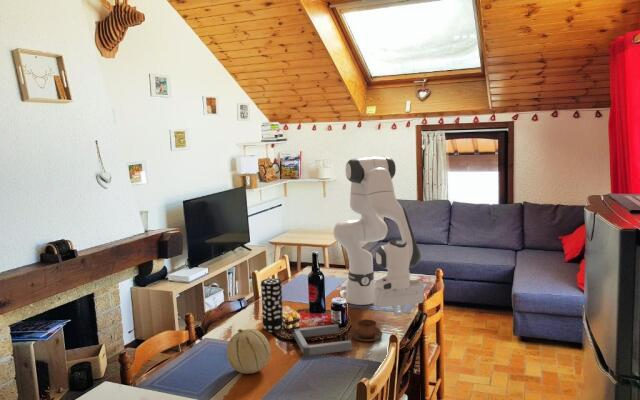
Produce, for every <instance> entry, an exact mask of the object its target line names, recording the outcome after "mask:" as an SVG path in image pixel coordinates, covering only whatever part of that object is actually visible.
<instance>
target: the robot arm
mask: <svg viewBox="0 0 640 400" xmlns="http://www.w3.org/2000/svg"><path fill="white" fill-rule="evenodd" d="M396 169H397V168H396V162H395V161H394V160H393V158H391V157H389V156H369V157H360V158H356V157H355V158H352V159H349V160H348V161H347V162H346V165H345V176H346V179H347V180H348V181H349V182H350V195H349V200H350V201H349V206H350V208H351V210H352V211H353V212H354V213H356V214H359V215H360V217H361V218H360V219H347V220H342V221H339V222H337V223H336V224H335V225H334V228H333V237H334V239H335V241H336V242H338V243H339V244H340V245H341V246H343V248H344V249H345V251H346V253H347V256H348V264H349V268H348V269H349V270H348V273H347V279H346V280H345V281H344V283H343V285H341V290H340V291H339V296H340V298H341V297H343V298H346V300H347V303H346V304H351V305H358V306H362V305H365V306H366V305H371V304H373V305H374V306H375V307H376V308H378V309H379V308H386V307H387V308H388V307H391V308H392V309H393V311H394V316H395V317H403V316H404V311H405V309H406V307H407V306H406V305H414V304H423V302H424V300H425V299H424V297H425V296H424V290H423V288H424V282H423V281H422V280H420V279H411V272H410V269H411V268H415V267H416V266H417V265H418V264H419V263H420V260H421V257H422V256H421V251H420V248H419V246H418V244H417V241H416V239H415V236H414V233H413V229H412V226H411V223H410V220H409V216H408V214H407V211H406V208H405V207H404V205H402V204H400V203H399V201H398V200H397V198H396V195H395V187H394V183H393V178H394V177H395V175H396ZM381 217H384V218H387V219H390V220H392V221H393V222H395V224H396V225H397V227H398V230H399V234H400V236H401V239H398V238H397V239H395V238H394V239H391V240H388V242H387V243H386V244H384V245H380V246H378V247H377V249H376V251H375V252H374V257H373V255H372V253H371V252H370V251H368V250H367V249H365V248H362V246H361V245H362V244H363V243H375V242H378V241H382V240H384V239H385V238H386V237H387V234H388V232H389V229H388V225H387V222H386V221H385V220H383V219H382V218H381ZM373 258H375V259H373ZM374 260H375V264H376V265H377V266H378V267H379V268H381V269H384V270H385V269H386V270H387V272H386V275H385V276H384V277H382V278H379V279H377V280H374V279H375V271H374V264H373V263H374ZM398 306H400V309H399V310H397V308H398Z"/></svg>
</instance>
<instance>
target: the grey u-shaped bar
mask: <svg viewBox="0 0 640 400" xmlns="http://www.w3.org/2000/svg"><path fill="white" fill-rule="evenodd" d="M339 328H340V327H339V324H338V323H335V324H326V325H319V326H318V325H317V326H310V327H301V328H294V329H293V338H294V339H295V342H296V343H297V346H298V347H299V350H300V351H301V352H302V354H303V357H310V356H316V355H323V354H325V355H326V354H331V353H340V352H347V351H352V349H353V347H352V341H351V340H350V339H349V340H343V341H333V342H326V343H318V344H316V343H315V344H308V343H307V341H306V339H305V338H308V337H309V338H310V337H318V336H325V335H333V334H339V333H340V330H339Z"/></svg>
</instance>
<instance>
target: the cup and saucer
mask: <svg viewBox="0 0 640 400" xmlns="http://www.w3.org/2000/svg"><path fill="white" fill-rule="evenodd" d="M351 336H352V337H353V338H354V339H355V340H357V341H361V342H375V341H378V340H380V339H381V338H382V336H383V332H382V331H381V329H380V328H379V327H377V322H376V321H375V320H374V319H369V318H368V319H366V318H365V319H361V320H359V321H357V328H355V329H354V330H352V331H351Z"/></svg>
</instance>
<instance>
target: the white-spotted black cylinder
mask: <svg viewBox="0 0 640 400" xmlns="http://www.w3.org/2000/svg"><path fill="white" fill-rule="evenodd" d="M260 284H261V286H260V287H261V288H260V289H261V307H262V310H261V311H262V314H261V315H262V330H263V331H265V332H268V333H276V332H280V331H282V330H284V309H283V285H282V284H283V283H282V280H281V279H279V278H266V279H263V280H261V282H260ZM282 326H283V327H282Z"/></svg>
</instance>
